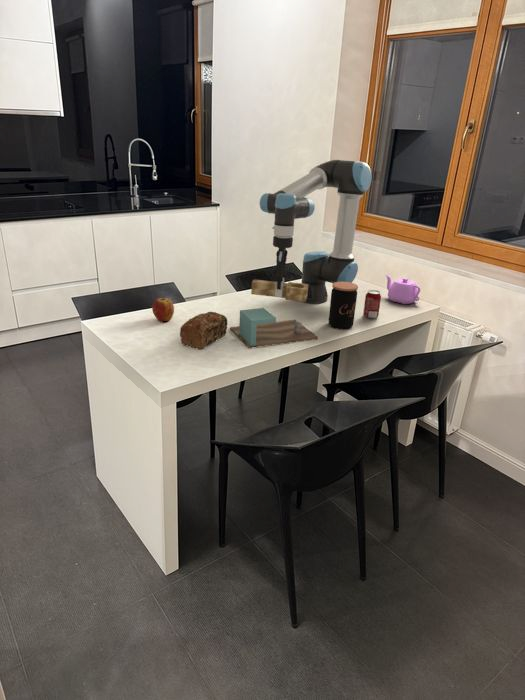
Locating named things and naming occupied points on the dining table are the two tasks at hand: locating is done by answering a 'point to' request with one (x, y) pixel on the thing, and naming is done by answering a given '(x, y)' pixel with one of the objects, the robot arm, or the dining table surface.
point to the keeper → (253, 323)
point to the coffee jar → (342, 305)
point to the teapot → (402, 290)
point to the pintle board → (278, 333)
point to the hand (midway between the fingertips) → (279, 294)
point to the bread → (203, 329)
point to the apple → (163, 309)
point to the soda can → (372, 304)
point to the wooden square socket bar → (288, 291)
